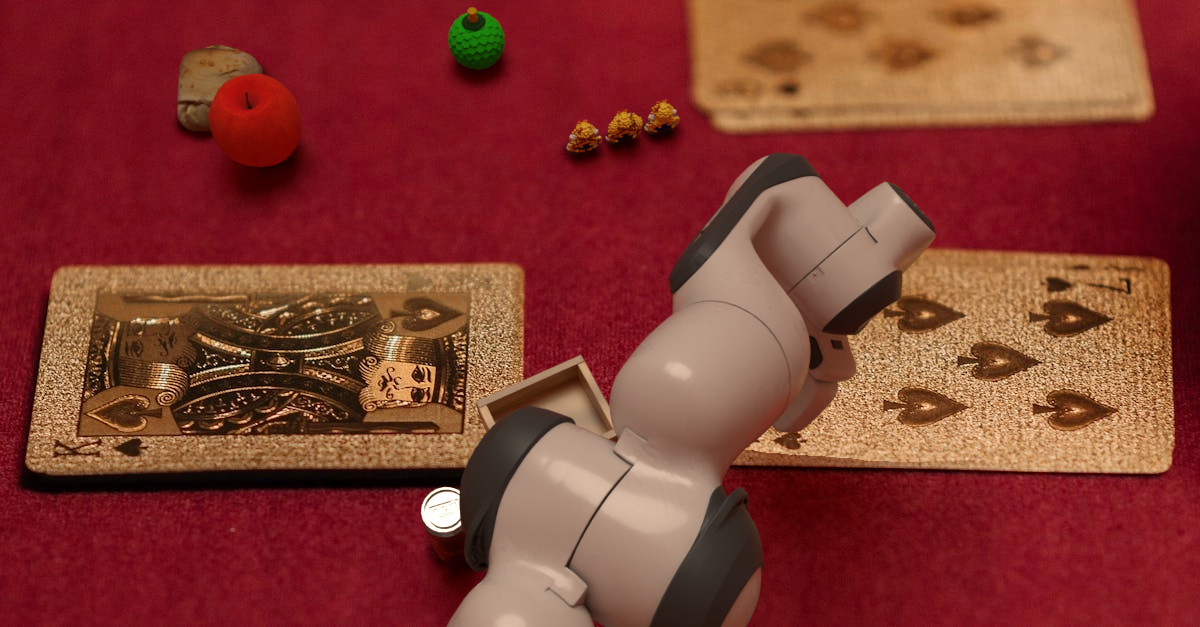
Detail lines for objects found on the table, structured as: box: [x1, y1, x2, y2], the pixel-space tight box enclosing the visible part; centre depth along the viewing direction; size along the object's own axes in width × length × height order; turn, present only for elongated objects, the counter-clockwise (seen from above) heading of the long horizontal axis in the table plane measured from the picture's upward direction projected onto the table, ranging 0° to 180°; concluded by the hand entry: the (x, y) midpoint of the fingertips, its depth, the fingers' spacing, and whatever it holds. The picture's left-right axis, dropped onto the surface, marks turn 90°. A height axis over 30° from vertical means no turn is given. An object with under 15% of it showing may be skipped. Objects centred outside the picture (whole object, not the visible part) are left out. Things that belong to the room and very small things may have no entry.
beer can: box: [420, 486, 468, 566], centre depth 119 cm, size 5×5×12 cm
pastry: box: [176, 43, 264, 132], centre depth 153 cm, size 14×12×8 cm
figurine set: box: [565, 99, 681, 157], centre depth 149 cm, size 3×16×7 cm, turn 108°
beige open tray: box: [475, 354, 619, 443], centre depth 103 cm, size 9×11×4 cm
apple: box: [208, 73, 303, 168], centre depth 146 cm, size 12×12×13 cm
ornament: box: [447, 6, 506, 71], centre depth 155 cm, size 8×8×10 cm
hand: (709, 385), depth 119 cm, fingers open, 8 cm apart
